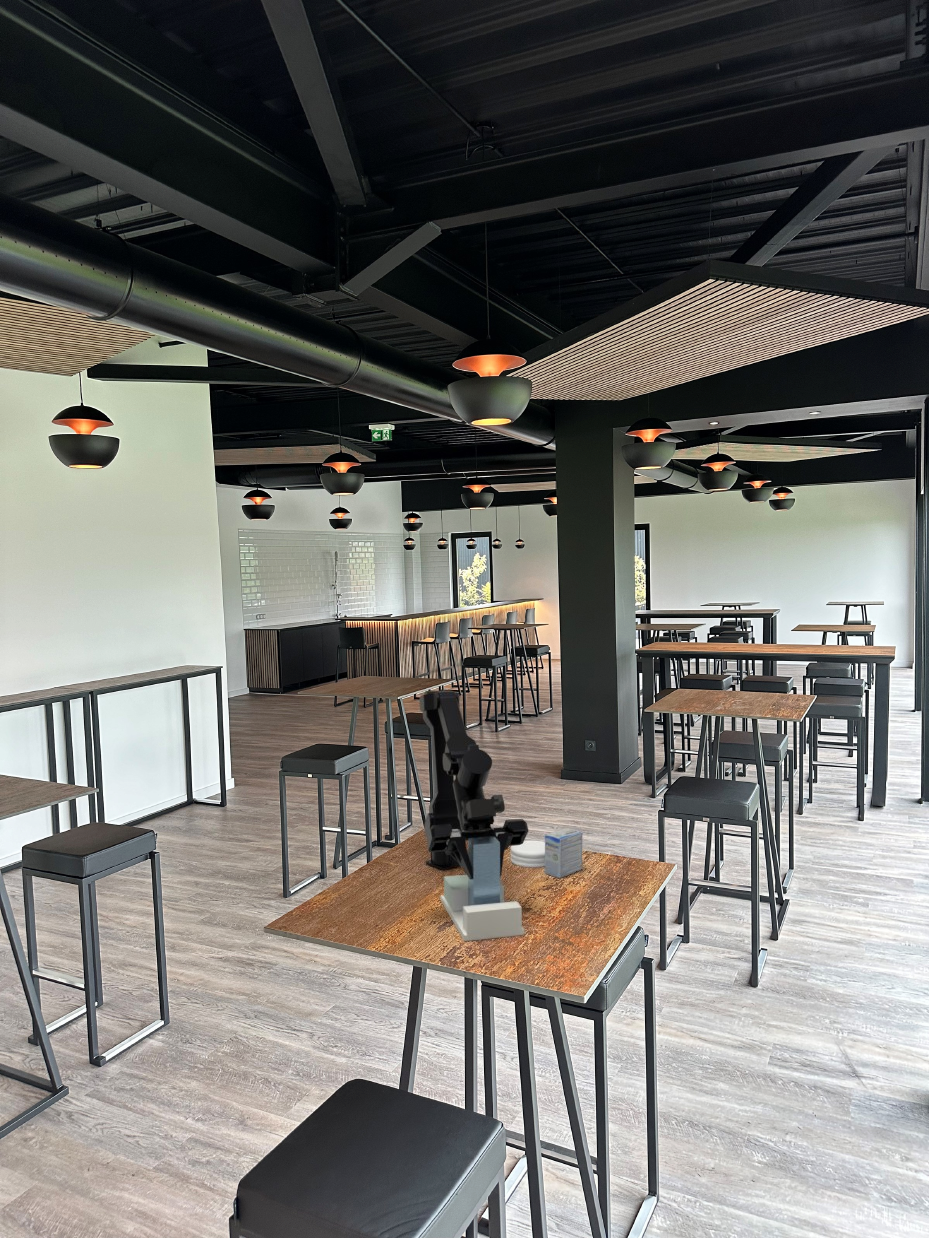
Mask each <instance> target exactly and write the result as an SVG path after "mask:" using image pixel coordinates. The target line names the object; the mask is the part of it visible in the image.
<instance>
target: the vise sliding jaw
mask: <svg viewBox="0 0 929 1238" xmlns="http://www.w3.org/2000/svg"><path fill="white" fill-rule="evenodd" d="M443 895H444V897H445V899H446V900H447V902H448V904H449V905H450V907H451V909H452V911H453V912H454V911H463V906H468V876H467V874H461V875H460V874H459V875H446V876H443ZM503 902H505V885H504V884H503V883H502V882H501V881H500V903H503Z"/></svg>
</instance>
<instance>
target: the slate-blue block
mask: <svg viewBox="0 0 929 1238" xmlns="http://www.w3.org/2000/svg"><path fill="white" fill-rule="evenodd" d="M467 848H468V849H467V852H468V856H469V860H470V863H471V867H472V873H473V879H471V880H470V879H469V877H468V906H472V905H483V904H493V903H500V882H501V877H500V842H499V841H498V840H497V839H496V838H495V837H494V836H492V837H479V838H468V841H467Z"/></svg>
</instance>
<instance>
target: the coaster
mask: <svg viewBox="0 0 929 1238" xmlns="http://www.w3.org/2000/svg"><path fill="white" fill-rule="evenodd" d="M509 850H510V853H509V854H510V861H511V864H513V865H516V866H518V867H524V868H535V869H536V868H545V841H543V840H542V841H541V840H524V842H523V844H521V845H515V846H510V849H509Z"/></svg>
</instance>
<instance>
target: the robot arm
mask: <svg viewBox="0 0 929 1238" xmlns="http://www.w3.org/2000/svg"><path fill="white" fill-rule="evenodd" d="M419 710H420V712H422V719H423V721H424V723H425V724H426V726H427V727H428V728H429V730H430V738H431V751H432V752H431V753H432V754H431V755H432V756H431V757H432V765H433V766H432V768H433V770H432V771H433V782H434V784H433V785H434V795H433V798H432V800H431V802H430V804H429V806H428V813H427V814H426V819H425V821H424V828H423V829H424V835H425V839H426V844H427V845H426V846H427V851H428V852H429V853H430V859H428V860H426V861H425V865H428V866H431V867H433V868H437V869H440V870H443V871H446V870H449V869H453V868H455V867H458V866H459V867H461V869H462V870H463V871H464V873H465V875H467V876H468V877H469V879H470V880H471V879H473V873H472V867H471V863H470V860H469V856H468V849H467V844H466V841H467V842H468V838H479V837H492V836H494V837H495V838H496V839H497V840H498V841H499V842H500V878H501V876H502V874H503V873H502V872H503V865H504V864H503V863H504V854H505V851H507V850H508V849H509V847H511V846H515V845H521V844H523V842H524V841H526V837H527V835H528V833H529V827H528V823H527V822H526V820H524V819H523V818H516V819H515V818H514V819H513V818H512V819H505V820H504V823H503V825H502V826H501V827H492V825H494V823H495V817H497V814H503V812H504V811H505V809H506V807H505V800H504V796H503V794H493V795H492V796H491V797H490V798H485V793H484V788H483V787H485V786H486V784H487V780H488V778H489V775H490V772H491V769H492V766H493V760H492V757H491V756H490V755H489V754H488V753H487V752H486V751H485V750H482V749H480V747H479V744H477V742H476V740H475V739H473V738H472V737H470V735H469V736H468V733H467V729H466V726H465V722H464V720H463V716H462V712H461V708H460V693H459V692H457V691H453V690H452V689H451V690H447V689H446V690H443V689H442V690H425V691H424V693H423V694H422V695H420V697H419ZM454 776H457V777H456V778H455V777H454Z"/></svg>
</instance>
